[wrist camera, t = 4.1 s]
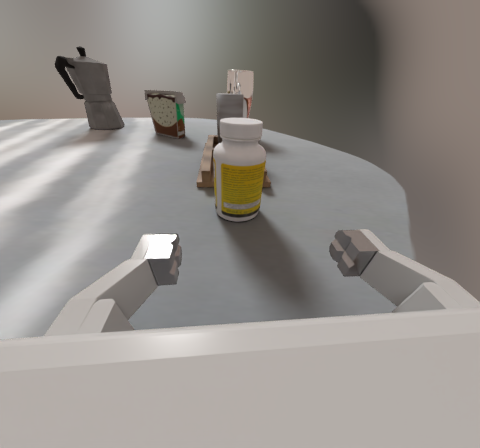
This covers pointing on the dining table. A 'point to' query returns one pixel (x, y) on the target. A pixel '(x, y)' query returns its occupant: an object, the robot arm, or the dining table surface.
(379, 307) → the dining table surface
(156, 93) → the food container
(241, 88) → the beer glass
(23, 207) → the dining table surface
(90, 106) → the coffeepot
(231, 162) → the supplement bottle
